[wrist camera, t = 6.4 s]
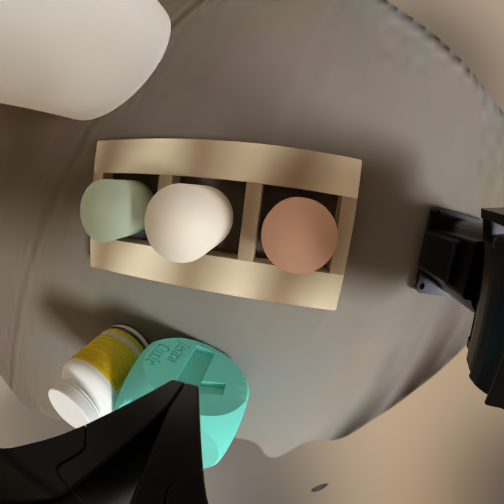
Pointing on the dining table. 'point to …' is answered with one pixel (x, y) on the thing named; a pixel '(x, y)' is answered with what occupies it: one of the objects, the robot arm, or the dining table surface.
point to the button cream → (187, 221)
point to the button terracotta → (299, 235)
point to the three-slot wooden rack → (256, 175)
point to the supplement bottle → (96, 375)
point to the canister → (78, 53)
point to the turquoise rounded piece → (196, 373)
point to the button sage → (114, 208)
